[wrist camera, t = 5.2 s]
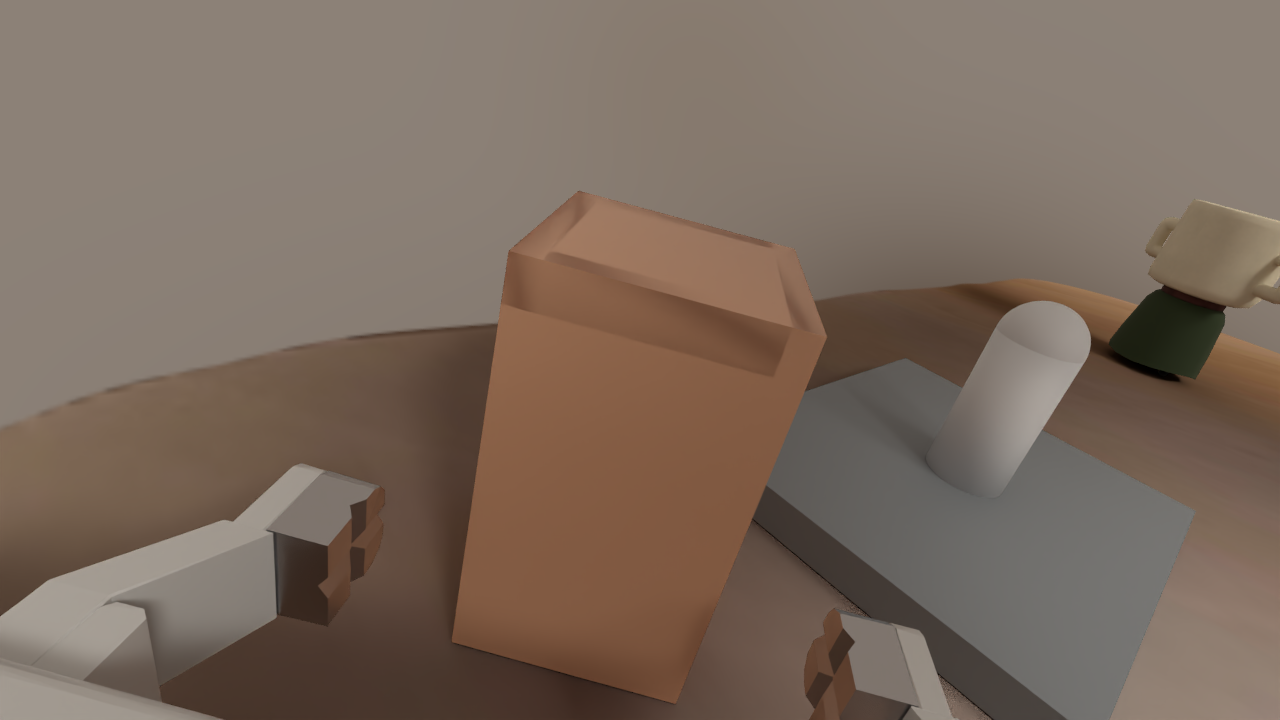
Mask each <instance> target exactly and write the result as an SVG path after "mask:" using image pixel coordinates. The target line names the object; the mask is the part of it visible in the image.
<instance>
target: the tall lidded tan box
mask: <svg viewBox="0 0 1280 720" xmlns="http://www.w3.org/2000/svg"><path fill="white" fill-rule="evenodd" d="M826 339H827V335H826V333H825V330H824V327H823V324H822V322H821V319H820V316H819V314H818V311H817V308H816V305H815V303H814V300H813V297H812V295H811V292H810V289H809V286H808V284H807V281H806V278H805V276H804V273H803V270H802V268H801V265H800V262H799V259H798V257H797V254H796V251H795V249H793V248H789V247H785V246H782V245H778V244H774V243H771V242H766V241H763V240H759V239H755V238H752V237H748V236H744V235H741V234H737V233H733V232H730V231H726V230H722V229H718V228H714V227H711V226H707V225H704V224H700V223H696V222H692V221H689V220H685V219H681V218H678V217H674V216H670V215H666V214H663V213H659V212H655V211H652V210H648V209H644V208H640V207H637V206H633V205H629V204H626V203H622V202H618V201H615V200H611V199H607V198H604V197H600V196H596V195H592V194H589V193H585V192H581V191H578V192H577V193H575V194H574V195H573V196H572V197H571V198H570V199H568V200H567V201H566V202H565V203H564V204H563V205H561V206H560V207H559V208H558V209H557V210H556V211H554V212H553V213H552V214H551V215H550V216H549V217H547V219H545V220H544V221H543V222H542V223H541V224H539V225H538V226H537V227H536V228H535V229H534V230H532V231H531V232H530V233H529V234H528V235H527V236H525V237H524V238H523V239H522V240H521V241H520V242H519V243H518V244H516V245H515V246H514V247H513V248H511V249H510V250H509V253H508V259H507V267H506V274H505V281H504V287H503V294H502V300H501V307H500V315H499V321H498V328H497V335H496V341H495V348H494V355H493V362H492V369H491V376H490V382H489V389H488V396H487V403H486V410H485V417H484V423H483V430H482V437H481V444H480V451H479V458H478V464H477V471H476V478H475V485H474V492H473V499H472V505H471V512H470V519H469V526H468V533H467V540H466V546H465V553H464V560H463V567H462V574H461V581H460V587H459V594H458V601H457V608H456V615H455V622H454V628H453V635H452V642H453V643H457V644H460V645H464V646H468V647H471V648H475V649H479V650H482V651H486V652H489V653H493V654H497V655H500V656H504V657H507V658H511V659H515V660H518V661H522V662H525V663H529V664H533V665H536V666H540V667H544V668H547V669H551V670H554V671H558V672H562V673H565V674H569V675H572V676H576V677H580V678H583V679H587V680H591V681H594V682H598V683H601V684H605V685H609V686H612V687H616V688H619V689H623V690H627V691H630V692H634V693H637V694H641V695H645V696H648V697H652V698H656V699H659V700H663V701H666V702H670V703H674V704H676V702H677V700H678V697H679V695H680V692H681V690H682V687H683V685H684V683H685V680H686V678H687V675H688V673H689V671H690V668H691V666H692V663H693V661H694V658H695V656H696V654H697V651H698V649H699V646H700V644H701V641H702V639H703V637H704V634H705V632H706V629H707V627H708V624H709V622H710V620H711V617H712V615H713V612H714V610H715V608H716V605H717V603H718V600H719V598H720V595H721V593H722V591H723V588H724V586H725V583H726V581H727V578H728V576H729V574H730V571H731V569H732V566H733V564H734V562H735V559H736V557H737V554H738V552H739V549H740V547H741V545H742V542H743V540H744V537H745V535H746V532H747V530H748V528H749V525H750V523H751V520H752V518H753V515H754V513H755V511H756V508H757V506H758V503H759V501H760V499H761V496H762V494H763V491H764V489H765V486H766V484H767V482H768V479H769V477H770V474H771V472H772V469H773V467H774V465H775V462H776V460H777V457H778V455H779V452H780V450H781V448H782V445H783V443H784V440H785V438H786V436H787V433H788V431H789V428H790V426H791V423H792V421H793V419H794V416H795V414H796V411H797V409H798V406H799V404H800V402H801V399H802V397H803V394H804V392H805V389H806V387H807V385H808V382H809V380H810V377H811V375H812V373H813V370H814V368H815V365H816V363H817V360H818V358H819V356H820V353H821V351H822V348H823V346H824V343H825V341H826Z"/></svg>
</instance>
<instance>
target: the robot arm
mask: <svg viewBox="0 0 1280 720" xmlns="http://www.w3.org/2000/svg"><path fill="white" fill-rule="evenodd" d="M384 504H385V489H383V488H382V487H381V486H378V485H375V484H372V483H368V482H365V481H362V480H358V479H355V478H351V477H348V476H345V475H341V474H338V473H335V472H331V471H325V470H322V469H319V468H315V467H312V466H309V465H306V464H302V463H301V464H298V465H295V466H293V467H291V468H290V469H289V470H288V471H287V472H286V473H285V474H284V475H283V476H281V477H280V478H279V479H278V480H277V481H276V482H275V483H274V484H273V485H272V486H271V487H270V488H269V489H267V490H266V491H265V492H264V493H263V494H262V495H261V496H260V497H259V498H258V499H257V500H256V501H254V502H253V503H252V504H251V505H250V506H249V507H248V508H247V509H246V510H245V511H244V512H243V513H242V514H240V515H239V516H238V517H237V518H236V519H235V520H234V521H233V522H231V521H227V520H222V521H219V522H216V523H213V524H210V525H207V526H204V527H201V528H198V529H195V530H192V531H190V532H187V533H184V534H181V535H178V536H175V537H172V538H169V539H166V540H163V541H160V542H158V543H155V544H152V545H149V546H146V547H143V548H140V549H137V550H134V551H131V552H128V553H125V554H123V555H120V556H117V557H114V558H111V559H108V560H105V561H102V562H99V563H96V564H93V565H90V566H88V567H85V568H82V569H79V570H76V571H73V572H70V573H67V574H64V575H61V576H58V577H55V578H53V579H50V580H48V581H46V582H45V583H44V584H42V585H41V586H40V587H39V588H37V589H36V590H35V591H33V592H32V593H31V594H29V595H28V596H27V597H25V598H24V599H23V600H21V601H20V602H19V603H18V604H16V605H15V606H14V607H12V608H11V609H10V610H8V611H7V612H6V613H4V614H3V615H2V616H0V720H224V719H221V718H217V717H213V716H210V715H206V714H203V713H199V712H195V711H192V710H188V709H184V708H181V707H177V706H173V705H170V704H166V703H162V698H161V693H160V688H159V686H161V685H163V684H164V683H166V682H168V681H169V680H171V679H173V678H175V677H176V676H178V675H180V674H181V673H183V672H185V671H187V670H188V669H190V668H192V667H193V666H195V665H197V664H198V663H200V662H202V661H204V660H205V659H207V658H209V657H210V656H212V655H214V654H216V653H217V652H219V651H221V650H222V649H224V648H226V647H227V646H229V645H231V644H233V643H234V642H236V641H238V640H239V639H241V638H243V637H245V636H246V635H248V634H250V633H251V632H253V631H255V630H257V629H258V628H260V627H262V626H263V625H265V624H267V623H268V622H270V621H272V620H274V619H275V618H277V615H281V616H285V617H290V618H294V619H298V620H302V621H306V622H310V623H314V624H319V625H323V626H327V627H328V625H329V624H330V622H331V621H332V620H333V618H334V617H335V615H336V614H337V613H338V611H339V610H340V608H341V607H342V606H343V604H344V603H345V601H346V600H347V599H348V597H349V596H350V582H352V581H354V580H356V579H358V578H360V577H362V576H364V574H365V573H366V572H367V570H368V569H369V567H370V566H371V564H372V563H373V560H374V558H375V556H376V554H377V551H378V549H379V547H380V543H381V539H382V535H383V522H382V521H381V519H380V517H379V516H378V512H379V511H380V510H381V508H382V507H383V506H384ZM823 625H824V632H825V635H823V636H821V637H819V638H817V639H815V640H814V641H813V643H812V645H811V647H810V650H809V652H808V654H807V659H806V664H805V669H804V686H805V695H806V697H807V698H808V700H809V701H810V703H811V704H812V706H813V707H814V708H815V710H814V712H813V714H812V716H811V717H810V719H809V720H960V719H957V718H954V717H952V714H951V711H950V709H949V706H948V703H947V700H946V697H945V694H944V692H943V689H942V686H941V683H940V680H939V677H938V675H937V672H936V669H935V666H934V663H933V661H932V658H931V655H930V652H929V649H928V646H927V644H926V641H925V638H924V636H923V634H922V633H921V632H920V631H919V630H916V629H913V628H909V627H905V626H901V625H897V624H893V623H887V622H884V621H880V620H877V619H873V618H869V617H865V616H861V615H857V614H854V613H850V612H846V611H842V610H838V609H833V610H832V611H830V612H829V613H828V615H827V617H826V618H825V620H824V622H823Z"/></svg>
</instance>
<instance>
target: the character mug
mask: <svg viewBox="0 0 1280 720" xmlns="http://www.w3.org/2000/svg"><path fill="white" fill-rule="evenodd" d="M1171 231H1173V232H1172V233H1171ZM1170 233H1171V235H1170V236H1169V234H1170ZM1168 236H1169V238H1168V240H1167V241H1166V239H1167V237H1168ZM1165 241H1166V243H1165V244H1164V246H1163V247H1162V245H1163V243H1164V242H1165ZM1145 251H1146V253H1148V255H1150V256H1152V257H1155V260H1154V262H1153V263H1152V265H1151V266H1150V269H1149V272H1148V274H1149V275H1150V276H1151V277H1152V278H1153V279H1154V280H1156V281H1158V282H1159V283H1161V284H1164V286H1163V287H1162V289H1159V290H1155V291H1154V292H1152V293H1151V294H1149V295H1148V296H1147V297H1146V298H1145V299H1144V300H1143V301H1142V302H1141V303H1140V305H1139V306H1138V307H1137V308H1136V309H1135V310H1134V311H1133V313H1132V314H1131V315H1130V316H1129V317H1128V318H1127V319H1126V321H1125V322H1124V323H1123V324H1122V325H1121V327H1120V328H1119V329H1118V330H1117V332H1116V333H1115V334H1114V335H1113V337H1112V338H1111V339H1110V342H1109V345H1110V346H1111V347H1112V348H1113V349H1114V351H1115V352H1117V353H1119V354H1120V355H1122V356H1124V357H1126V358H1128V359H1129V360H1131V361H1134V362H1137V363H1140V364H1142V365H1145V366H1148V367H1151V368H1154V369H1158V370H1159V374H1160V375H1162V376H1166V375H1167V374H1168V373H1173V374H1177V375H1182V376H1186V377H1190V378H1193V379H1196V377H1197V375H1198V374H1199V372H1200V370H1201V368H1202V367H1203V365H1204V363H1205V362H1206V360H1207V358H1208V357H1209V355H1210V353H1211V351H1212V349H1213V347H1214V345H1215V342H1216V340H1217V339H1218V337H1219V335H1220V333H1221V331H1222V329H1223V327H1224V323H1225V314H1224V313H1223V311H1224V309H1225V308H1226V306H1228V307H1233V308H1250V307H1252V306H1253V305H1255V304H1256V303H1258V302H1259V301H1261V300H1262V299H1263V300H1266V301H1269V302H1271V303H1274V304H1280V286H1279V287H1278V288H1274V287H1273V285H1274V284H1275V283H1276V281H1277V280H1278V279H1279V277H1280V221H1277V220H1273V219H1270V218H1266V217H1263V216H1259V215H1255V214H1252V213H1248V212H1244V211H1240V210H1237V209H1233V208H1229V207H1225V206H1221V205H1218V204H1214V203H1211V202H1207V201H1203V200H1198V199H1194V200H1193V201H1192V203H1191V204H1190V205H1189V206H1188V208H1187V210H1186V211H1185V213H1184V214H1183V216H1182V217H1181V219H1178V218H1175V217H1168V218H1165V219H1164V220H1163V221H1162V222H1161V223H1160V224H1159V226H1158V228H1157V229H1156V231H1155V232H1154V234H1153V236H1152V237H1151V239H1150V240H1149V242H1148V244H1147V246H1146V249H1145Z"/></svg>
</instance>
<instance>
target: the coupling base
mask: <svg viewBox="0 0 1280 720" xmlns="http://www.w3.org/2000/svg"><path fill="white" fill-rule="evenodd" d="M1090 346H1091V337H1090V332H1089V329H1088V327H1087V325H1086V323H1085V322H1084V320H1083V319H1082V318H1081V316H1079V315H1078V314H1077V313H1076V312H1075V311H1074V310H1072V309H1071V308H1069V307H1067V306H1065V305H1062V304H1059V303H1056V302H1050V301H1034V302H1029V303H1025V304H1022V305H1020V306H1018V307H1016V308H1014V309H1012V310H1011V311H1009V312H1008V313H1007V314H1006V315H1004V316H1003V318H1002V319H1001V320H1000V321H999V323H998V324H997V326H996V328H995V330H994V331H993V333H992V335H991V337H990V339H989V341H988V342H987V344H986V346H985V348H984V350H983V352H982V354H981V355H980V357H979V359H978V361H977V363H976V365H975V366H974V368H973V370H972V372H971V374H970V376H969V377H968V379H967V381H966V383H965V385H964V387H963V388H962V387H960V386H958V385H956V384H954V383H952V382H950V381H948V380H946V379H945V378H943V377H941V376H939V375H937V374H935V373H933V372H931V371H929V370H928V369H926V368H924V367H922V366H920V365H918V364H916V363H914V362H912V361H910V360H909V359H907V358H904V359H901V360H898V361H895V362H892V363H889V364H886V365H883V366H880V367H877V368H874V369H871V370H868V371H865V372H862V373H859V374H856V375H853V376H850V377H847V378H844V379H841V380H838V381H835V382H832V383H829V384H826V385H823V386H820V387H817V388H814V389H811V390H808V391H805V392H804V394H803V397H802V399H801V402H800V404H799V406H798V409H797V411H796V414H795V416H794V419H793V421H792V423H791V426H790V428H789V431H788V433H787V436H786V438H785V440H784V443H783V445H782V448H781V450H780V452H779V455H778V457H777V460H776V462H775V465H774V467H773V469H772V472H771V474H770V477H769V479H768V482H767V484H766V486H765V489H764V491H763V494H762V496H761V499H760V501H759V503H758V506H757V508H756V511H755V513H754V515H753V519H754V520H755V521H756V522H757V523H759V524H760V525H761V526H762V527H763V528H765V529H766V530H767V531H768V532H769V533H771V534H772V535H773V536H774V537H775V538H777V539H778V540H779V541H780V542H781V543H783V544H784V545H785V546H786V547H787V548H789V549H790V550H791V551H792V552H793V553H795V554H796V555H797V556H798V557H799V558H801V559H802V560H803V561H804V562H805V563H807V564H808V565H809V566H810V567H811V568H813V569H814V570H815V571H816V572H817V573H819V574H820V575H821V576H822V577H823V578H825V579H826V580H827V581H828V582H829V583H831V584H832V585H833V586H834V587H835V588H837V589H838V590H839V591H840V592H841V593H843V594H844V595H845V596H846V597H847V598H849V599H850V600H851V601H852V602H853V603H855V604H856V605H857V606H858V607H859V608H861V609H862V610H863V611H864V612H865V613H867V614H868V615H869V616H870V617H871V618H873V619H877V620H880V621H884V622H887V623H893V624H897V625H901V626H905V627H909V628H913V629H916V630H919V631H920V632H921V633H922V634H923V636H924V638H925V641H926V644H927V646H928V649H929V652H930V655H931V658H932V661H933V663H934V666H935V669H936V672H937V673H939V674H940V675H941V676H942V677H943V678H945V679H946V680H947V681H948V682H949V683H951V684H952V685H953V686H954V687H955V688H957V689H958V690H959V691H960V692H961V693H963V694H964V695H965V696H966V697H967V698H969V699H970V700H971V701H972V702H973V703H975V704H976V705H977V706H978V707H979V708H981V709H982V710H983V711H984V712H985V713H987V714H988V715H989V716H990V717H991V718H993V719H994V720H1109V719H1110V717H1111V715H1112V712H1113V710H1114V707H1115V705H1116V702H1117V700H1118V698H1119V695H1120V693H1121V690H1122V688H1123V686H1124V683H1125V681H1126V678H1127V676H1128V674H1129V671H1130V669H1131V666H1132V664H1133V662H1134V659H1135V657H1136V654H1137V652H1138V649H1139V647H1140V645H1141V642H1142V640H1143V637H1144V635H1145V633H1146V630H1147V628H1148V625H1149V623H1150V621H1151V618H1152V616H1153V613H1154V611H1155V609H1156V606H1157V604H1158V601H1159V599H1160V596H1161V594H1162V592H1163V589H1164V587H1165V584H1166V582H1167V580H1168V577H1169V575H1170V572H1171V570H1172V568H1173V565H1174V563H1175V560H1176V558H1177V555H1178V553H1179V551H1180V548H1181V546H1182V543H1183V541H1184V539H1185V536H1186V534H1187V531H1188V529H1189V527H1190V524H1191V522H1192V519H1193V517H1194V515H1195V512H1196V511H1195V510H1193V509H1191V508H1189V507H1187V506H1185V505H1183V504H1181V503H1179V502H1178V501H1176V500H1174V499H1172V498H1170V497H1168V496H1166V495H1164V494H1162V493H1161V492H1159V491H1157V490H1155V489H1153V488H1151V487H1149V486H1147V485H1145V484H1143V483H1142V482H1140V481H1138V480H1136V479H1134V478H1132V477H1130V476H1128V475H1126V474H1125V473H1123V472H1121V471H1119V470H1117V469H1115V468H1113V467H1111V466H1109V465H1107V464H1106V463H1104V462H1102V461H1100V460H1098V459H1096V458H1094V457H1092V456H1090V455H1089V454H1087V453H1085V452H1083V451H1081V450H1079V449H1077V448H1075V447H1073V446H1071V445H1070V444H1068V443H1066V442H1064V441H1062V440H1060V439H1058V438H1056V437H1054V436H1053V435H1051V434H1049V433H1047V432H1045V431H1043V430H1042V429H1043V427H1044V426H1045V424H1046V422H1047V421H1048V419H1049V418H1050V416H1051V415H1052V413H1053V411H1054V410H1055V408H1056V407H1057V405H1058V404H1059V402H1060V400H1061V399H1062V397H1063V396H1064V394H1065V392H1066V391H1067V389H1068V388H1069V386H1070V385H1071V383H1072V381H1073V380H1074V378H1075V377H1076V375H1077V374H1078V372H1079V370H1080V369H1081V367H1082V366H1083V364H1084V362H1085V361H1086V359H1087V357H1088V354H1089V352H1090Z"/></svg>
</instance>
